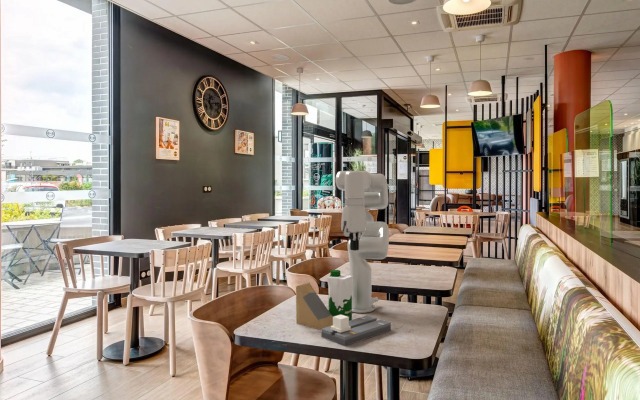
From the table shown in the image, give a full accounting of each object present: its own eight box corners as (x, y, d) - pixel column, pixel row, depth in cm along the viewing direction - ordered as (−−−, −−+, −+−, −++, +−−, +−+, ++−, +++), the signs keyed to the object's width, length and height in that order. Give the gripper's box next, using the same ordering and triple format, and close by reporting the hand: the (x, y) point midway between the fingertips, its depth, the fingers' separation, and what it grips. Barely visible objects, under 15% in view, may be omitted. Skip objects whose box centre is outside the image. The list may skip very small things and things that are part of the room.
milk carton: (335, 316, 188) (335, 268, 187) (355, 319, 183) (355, 270, 182) (324, 321, 181) (324, 271, 180) (344, 325, 176) (344, 274, 175)
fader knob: (341, 329, 165) (340, 313, 165) (350, 332, 161) (350, 317, 161) (330, 332, 162) (330, 316, 161) (340, 335, 158) (340, 319, 158)
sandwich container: (327, 331, 170) (326, 291, 169) (295, 323, 179) (295, 286, 178) (340, 325, 176) (340, 287, 176) (309, 318, 186) (309, 282, 185)
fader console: (367, 322, 179) (367, 315, 179) (390, 330, 170) (390, 322, 170) (321, 336, 163) (321, 328, 163) (344, 345, 154) (344, 336, 154)
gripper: (360, 201, 184) (360, 246, 185) (333, 203, 174) (333, 251, 175) (374, 202, 179) (374, 249, 180) (347, 204, 169) (347, 253, 170)
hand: (354, 249), depth 178 cm, fingers closed
